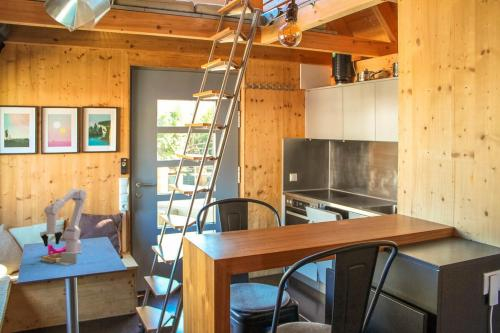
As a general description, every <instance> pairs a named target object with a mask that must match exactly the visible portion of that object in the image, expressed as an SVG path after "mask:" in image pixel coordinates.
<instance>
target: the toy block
mask: <svg viewBox="0 0 500 333" xmlns="http://www.w3.org/2000/svg"><path fill="white" fill-rule="evenodd" d="M62 252H66V245H64V246H63V247H62V248H57V249H56V248H54V246H53V244H52V243H50V244H49V243H48V246H47V255H51V254H56V253H62Z"/></svg>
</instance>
